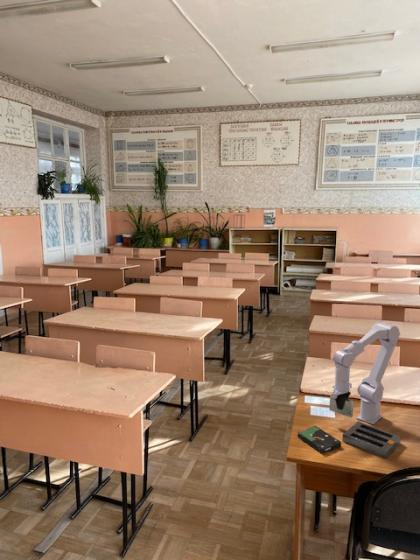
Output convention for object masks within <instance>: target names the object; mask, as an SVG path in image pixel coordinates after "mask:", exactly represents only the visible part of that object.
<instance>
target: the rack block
mask: <svg viewBox="0 0 420 560" xmlns="http://www.w3.org/2000/svg"><path fill="white" fill-rule="evenodd" d="M401 438H402V437H401V435H398V434H395V433H393V432H389V431H386V430H383V429H381V428H377V427H375V426H372V425H369V424H366V423H364V422H361V421H357V422H355V423H354V424H353V425H352V426H351V427H349V428H348V429H346V431H345V432H343V433H342V439H341V440H342V441H341V442H344V443H346V444H349V445H351V446H354V447H356V448H359V449H361V450H364V451H366V452H368V453H371V454H374V455H376V456H379V457H381V458H384V459H388V458H389V456H390V455H392V453H393V452H394V451H395V450H396V449H397V447H399V445H400V444H401V441H402V440H401Z"/></svg>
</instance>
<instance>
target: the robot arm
mask: <svg viewBox="0 0 420 560" xmlns="http://www.w3.org/2000/svg"><path fill="white" fill-rule="evenodd" d="M400 335H401V332H400V329H399V327H398V326H396V325H392V324H388V323H385V322H382V321H381V320H380V321H377V322H375V323H374V324H372V326H371V329H369V331H368V332H367V333H365V335H364V336H363V337H362V338H360V339H359V340H352V341H351V343H350V344H348V345H347V346H345V347H344V348H343V349H340V350H336V352H334V354H333V357H332V360H333V362H334V366H335V372H334V373H335V378H334V379H335V382H334V385H333V386H332V388H333V391H332V392H331V394H330V395H331V397H332V398H335V401H336V405H337V409H340V410H342V409H343V405H344V401H345V398H346V399H349V397H350V395H351V394H352V393H351V391H350V390H351V389H352V388H353V385H352V383H351V382H350V372H351V371H350V370H351V367H350V366H352V365H353V364H354V361H355V360H356V358H357V357H358V356H360V355H361V354H363V352H365V348H366V347H367V346H369V345H370V344H372V343H373V342H375V341H376V340H379V342H380V344H381V346H380V348H379V350H378V353H377V356H376V358H375V359H374V362H373V366H372V367H371V370H370V372H369V375H368V376H367V377H365V378H362V380H361V382H360V383H359V385H358V387H357V394H358V395H359V398H360V409H359V410H360V411H359V414H358V415H357V416H356V419H357V420H361V421H363V422H366V423H369V424H372V425H375V424H376V423H377V422H378V421H379V420H380V419H382V417H383V415H381V406H382V405H381V400H382V399H383V396H384V395H383V394H384V390H385V388H384V385H383V384H382V380H383V378H384V375H385V373H386V370H387V368H388V365H389V363H390V360H391V358H392V355H393V353H394V351H395V347H396V346H397V342H398V341H399V338H400Z"/></svg>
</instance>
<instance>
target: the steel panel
mask: <svg viewBox="0 0 420 560" xmlns="http://www.w3.org/2000/svg"><path fill="white" fill-rule="evenodd" d="M328 411H330V412H334V413H336V414H339V415H342V416H345V417H348V418H353V415H354V400H351V399H349V398H348V399H346V398H345V401H344V405H343V409H342V410H340V409H337V405H336V401H335V398H332V397H331V394H329V410H328Z"/></svg>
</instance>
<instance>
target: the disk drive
mask: <svg viewBox="0 0 420 560" xmlns="http://www.w3.org/2000/svg"><path fill="white" fill-rule="evenodd" d="M297 438H298V439H300V440H301V441H303V443H305V444H307V445H308V446H310V447H311V448H312V449H314V450H316V451H317V452H319V453H320V454H321V455H325V454H327V453H329V452H331V451H335V450H338V449H339V448H341V447H342V441H340V439H337V438H336V437H334V436H333V435H331V434H330V433H328V432H327V431H325V430H323V429H321V428H320V427H318V426H317V425H314V426H311V427H307V428H306V429H303V430H301V431H298V433H297ZM334 449H335V450H334Z"/></svg>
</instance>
